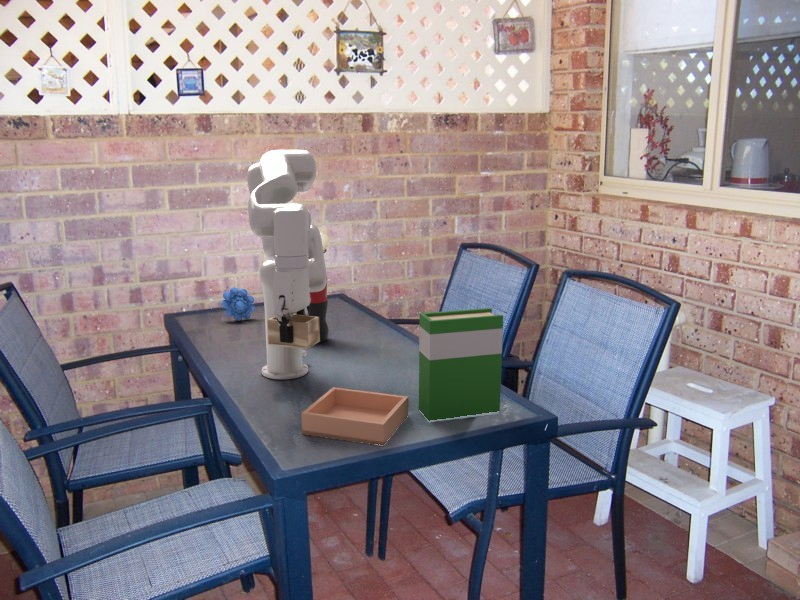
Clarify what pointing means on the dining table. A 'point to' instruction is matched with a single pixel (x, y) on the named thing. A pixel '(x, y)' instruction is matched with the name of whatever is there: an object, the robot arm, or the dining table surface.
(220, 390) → the dining table surface
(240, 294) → the blue flower
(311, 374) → the dining table surface
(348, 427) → the terracotta crate
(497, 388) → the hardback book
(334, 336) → the dining table surface
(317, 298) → the cola bottle
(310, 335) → the pine crate
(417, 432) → the dining table surface
